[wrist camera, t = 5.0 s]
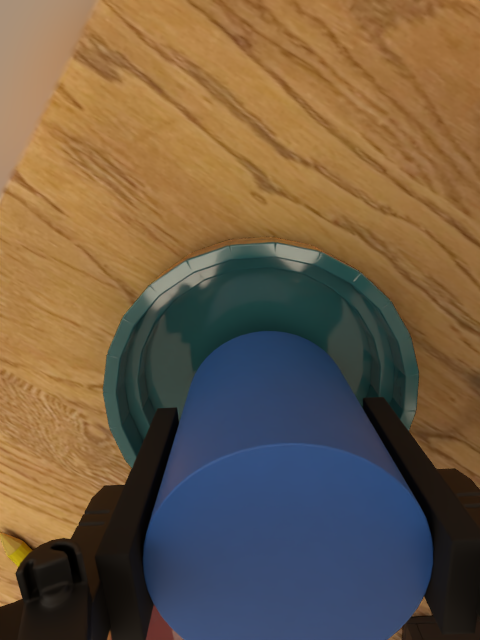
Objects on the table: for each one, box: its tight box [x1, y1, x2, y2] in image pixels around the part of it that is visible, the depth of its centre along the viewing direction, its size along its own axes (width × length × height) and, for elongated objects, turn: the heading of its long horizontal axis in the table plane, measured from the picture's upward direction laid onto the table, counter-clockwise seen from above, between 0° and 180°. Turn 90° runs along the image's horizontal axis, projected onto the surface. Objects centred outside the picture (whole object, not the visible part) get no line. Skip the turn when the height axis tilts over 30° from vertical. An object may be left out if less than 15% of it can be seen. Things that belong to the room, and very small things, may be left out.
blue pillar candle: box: [142, 331, 433, 640], centre depth 13 cm, size 7×7×8 cm
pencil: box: [0, 532, 33, 567], centre depth 24 cm, size 16×1×1 cm, turn 32°
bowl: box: [103, 237, 419, 468], centre depth 18 cm, size 14×14×3 cm
